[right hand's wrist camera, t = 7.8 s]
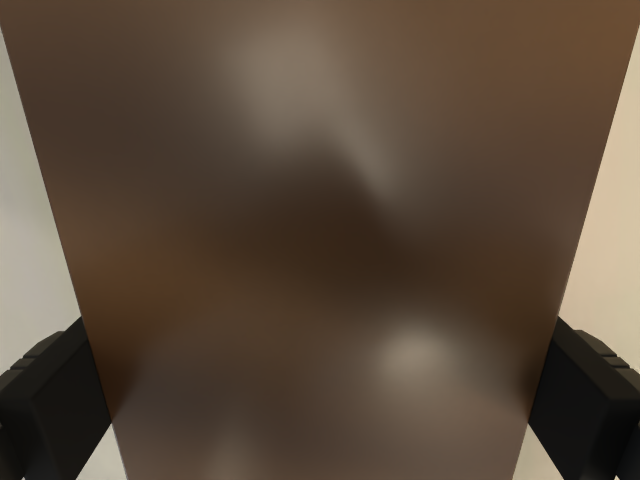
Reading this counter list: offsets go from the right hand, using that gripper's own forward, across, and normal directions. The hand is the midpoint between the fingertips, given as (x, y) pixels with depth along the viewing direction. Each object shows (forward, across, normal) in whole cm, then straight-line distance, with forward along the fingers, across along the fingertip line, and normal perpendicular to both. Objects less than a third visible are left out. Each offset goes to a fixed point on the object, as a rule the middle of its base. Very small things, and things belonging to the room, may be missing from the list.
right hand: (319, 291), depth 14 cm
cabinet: (+6, 0, -6) cm, 8 cm away
